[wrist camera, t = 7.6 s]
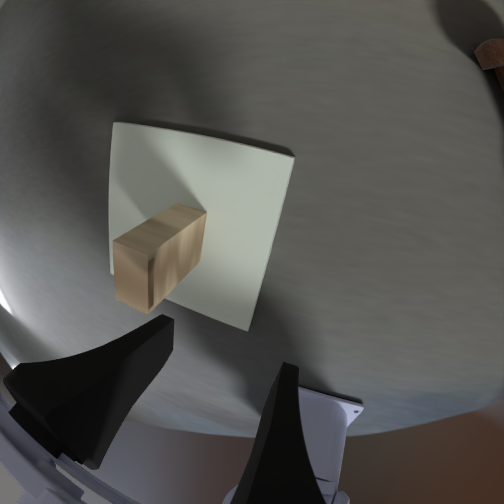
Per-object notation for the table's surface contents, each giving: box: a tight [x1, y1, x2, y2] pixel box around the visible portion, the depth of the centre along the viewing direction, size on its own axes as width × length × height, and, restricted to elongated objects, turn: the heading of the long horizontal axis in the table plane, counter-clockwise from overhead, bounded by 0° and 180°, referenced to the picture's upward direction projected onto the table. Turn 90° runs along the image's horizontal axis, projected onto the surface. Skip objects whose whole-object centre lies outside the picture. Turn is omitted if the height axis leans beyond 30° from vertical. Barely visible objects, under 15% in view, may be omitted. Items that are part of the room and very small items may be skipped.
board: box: [109, 122, 295, 332], centre depth 21 cm, size 14×14×1 cm
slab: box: [112, 203, 207, 315], centre depth 18 cm, size 4×2×7 cm, turn 168°
